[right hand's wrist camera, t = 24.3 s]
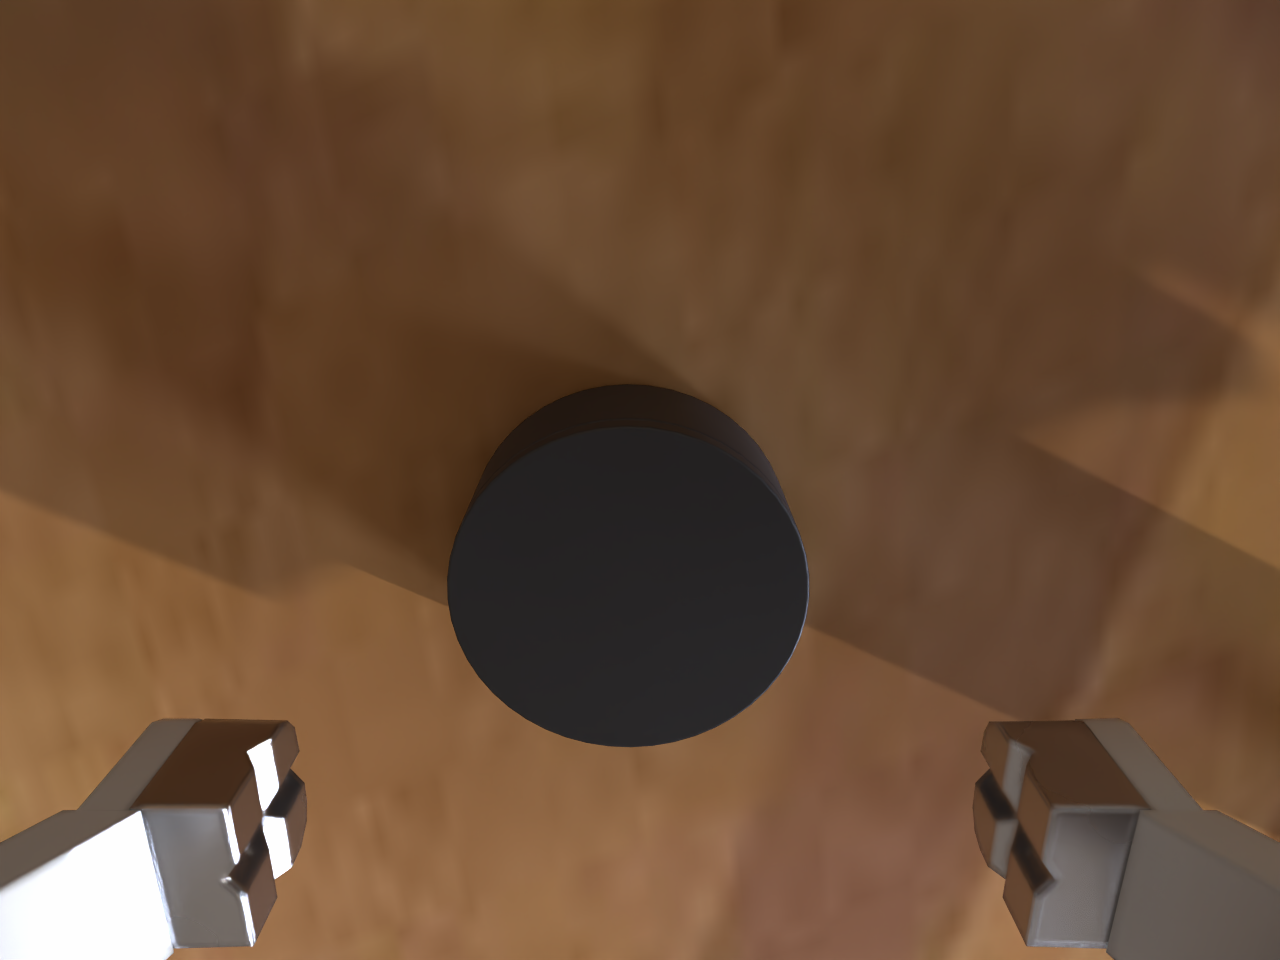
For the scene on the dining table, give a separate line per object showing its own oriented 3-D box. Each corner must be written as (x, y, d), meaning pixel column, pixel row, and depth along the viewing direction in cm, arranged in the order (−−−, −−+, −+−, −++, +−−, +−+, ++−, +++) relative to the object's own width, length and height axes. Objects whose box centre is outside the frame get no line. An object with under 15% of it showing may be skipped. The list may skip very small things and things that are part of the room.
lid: (851, 533, 15) (884, 596, 13) (631, 721, 17) (630, 804, 15) (626, 313, 14) (624, 346, 12) (406, 537, 15) (372, 601, 13)
